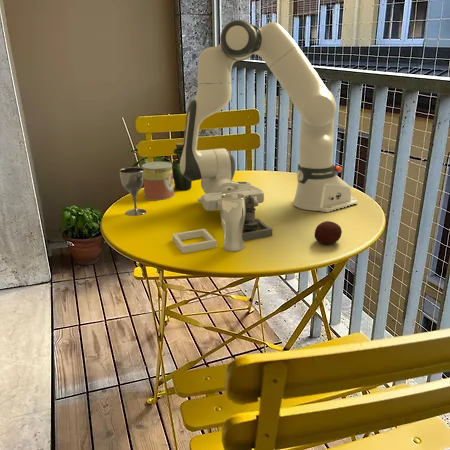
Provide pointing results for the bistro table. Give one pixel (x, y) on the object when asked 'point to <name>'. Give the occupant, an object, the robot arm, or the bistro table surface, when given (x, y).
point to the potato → (328, 232)
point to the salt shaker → (250, 216)
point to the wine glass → (133, 186)
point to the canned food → (158, 180)
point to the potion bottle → (179, 179)
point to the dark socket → (258, 232)
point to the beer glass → (233, 220)
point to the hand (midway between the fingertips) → (242, 206)
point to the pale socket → (194, 246)
